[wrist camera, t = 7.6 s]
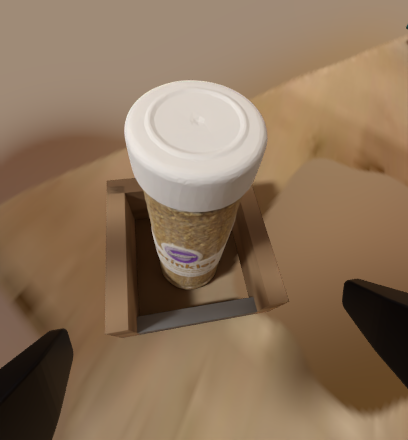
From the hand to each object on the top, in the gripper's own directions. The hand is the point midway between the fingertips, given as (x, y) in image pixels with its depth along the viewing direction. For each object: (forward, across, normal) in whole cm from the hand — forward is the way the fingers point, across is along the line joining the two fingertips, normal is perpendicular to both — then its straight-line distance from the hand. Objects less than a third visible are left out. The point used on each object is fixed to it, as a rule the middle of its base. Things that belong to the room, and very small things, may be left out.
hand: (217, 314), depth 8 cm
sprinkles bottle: (+11, 0, +4) cm, 12 cm away
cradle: (+11, 0, +3) cm, 12 cm away
